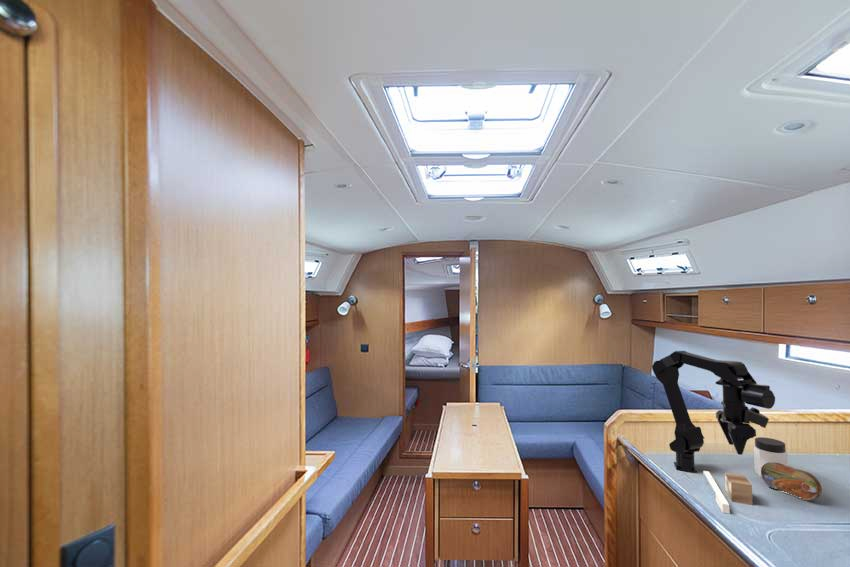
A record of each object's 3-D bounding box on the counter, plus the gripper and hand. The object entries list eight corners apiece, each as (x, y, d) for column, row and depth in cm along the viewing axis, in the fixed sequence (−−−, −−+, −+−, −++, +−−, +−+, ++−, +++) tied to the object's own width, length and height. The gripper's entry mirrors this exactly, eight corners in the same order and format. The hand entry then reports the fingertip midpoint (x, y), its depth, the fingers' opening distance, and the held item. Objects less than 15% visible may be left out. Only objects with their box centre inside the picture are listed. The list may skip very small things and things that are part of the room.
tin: (760, 484, 134) (759, 458, 134) (766, 482, 135) (765, 457, 135) (818, 506, 119) (816, 477, 120) (824, 504, 121) (823, 475, 121)
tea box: (752, 505, 120) (751, 485, 120) (731, 501, 122) (731, 482, 122) (745, 494, 127) (744, 475, 127) (725, 491, 129) (724, 472, 129)
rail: (702, 477, 138) (702, 470, 138) (709, 478, 137) (708, 471, 138) (721, 512, 116) (721, 503, 116) (729, 513, 115) (729, 504, 116)
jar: (790, 477, 138) (789, 442, 139) (785, 484, 133) (784, 447, 134) (757, 468, 145) (756, 435, 146) (751, 475, 140) (750, 440, 141)
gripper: (776, 410, 119) (778, 464, 118) (754, 396, 136) (756, 443, 135) (730, 407, 123) (732, 458, 123) (714, 393, 140) (716, 438, 140)
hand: (735, 449), depth 130 cm, fingers open, 9 cm apart
